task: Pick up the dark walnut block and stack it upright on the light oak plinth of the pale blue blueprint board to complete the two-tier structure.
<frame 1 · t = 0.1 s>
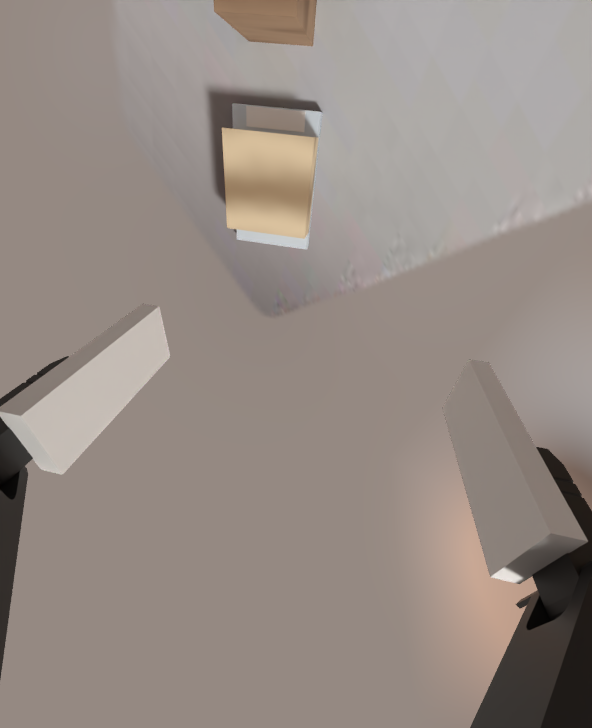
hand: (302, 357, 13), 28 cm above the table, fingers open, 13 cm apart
oak plinth: (273, 184, 33), resting on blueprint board
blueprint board: (275, 183, 34), on the table
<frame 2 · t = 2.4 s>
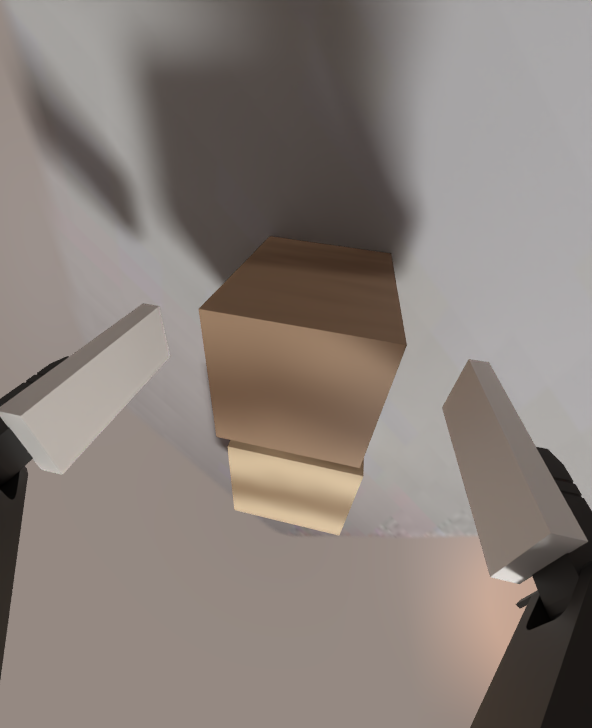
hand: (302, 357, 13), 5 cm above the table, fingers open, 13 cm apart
walnut block: (321, 300, 16), on the table
oak plinth: (297, 461, 24), resting on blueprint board
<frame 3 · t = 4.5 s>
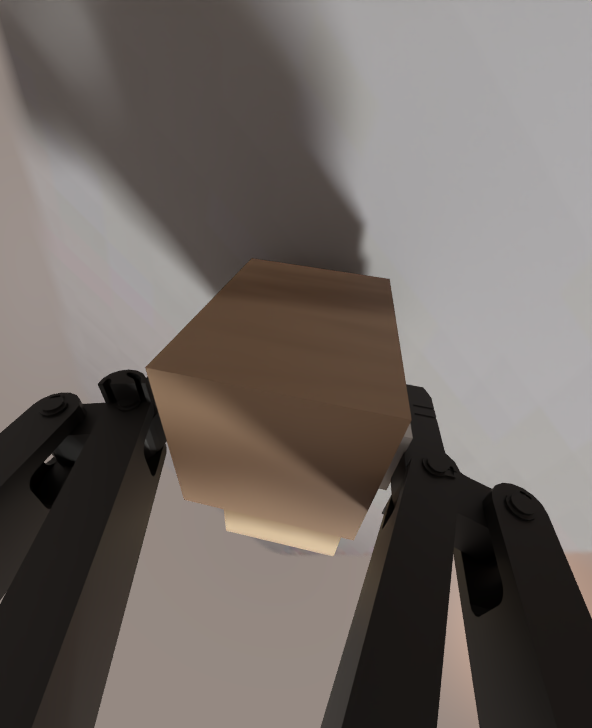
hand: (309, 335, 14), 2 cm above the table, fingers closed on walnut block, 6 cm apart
walnut block: (311, 328, 15), point 2 cm above the table, touching gripper
oak plinth: (290, 479, 24), resting on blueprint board
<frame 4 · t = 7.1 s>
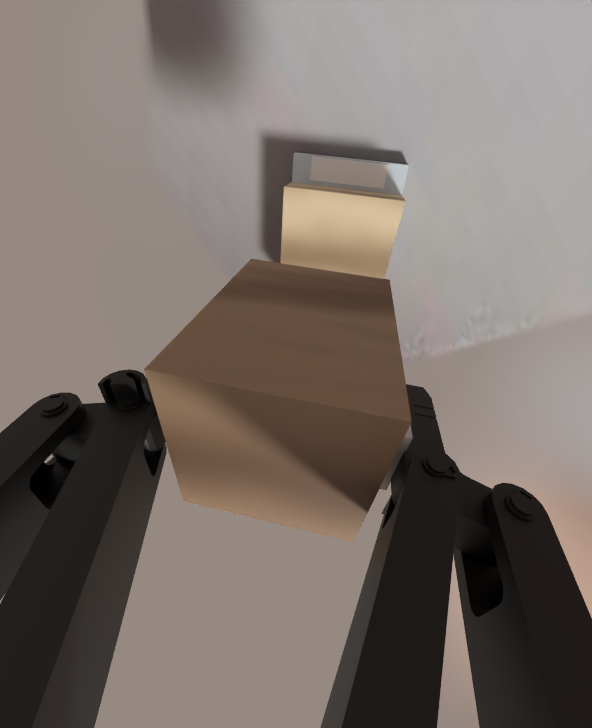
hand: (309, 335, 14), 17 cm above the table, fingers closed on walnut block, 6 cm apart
walnut block: (310, 328, 15), point 17 cm above the table, touching gripper
oak plinth: (336, 245, 27), resting on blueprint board
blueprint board: (337, 242, 28), on the table
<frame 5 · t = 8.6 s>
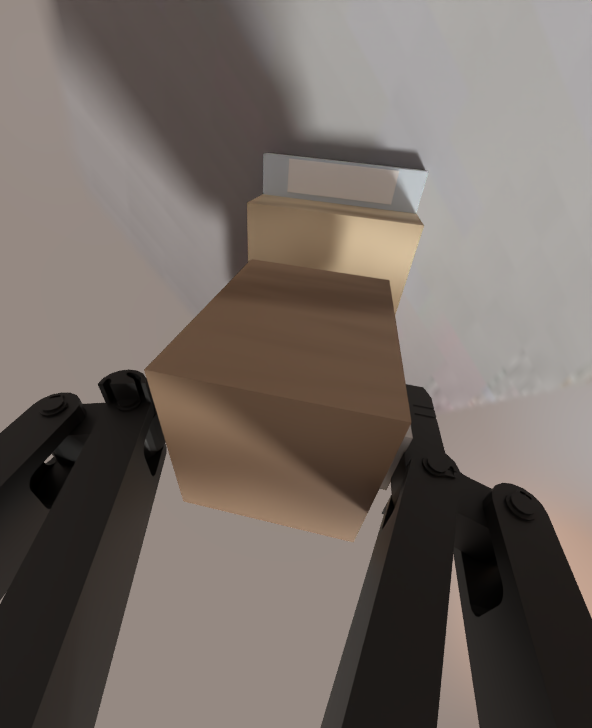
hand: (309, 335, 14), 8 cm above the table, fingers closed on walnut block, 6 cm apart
walnut block: (310, 329, 15), point 8 cm above the table, touching gripper
oak plinth: (326, 277, 20), resting on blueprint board
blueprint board: (327, 272, 21), on the table
when the fingers open (6 cm above the table, at t = 9.9 s): walnut block drops 1 cm, resting on oak plinth.
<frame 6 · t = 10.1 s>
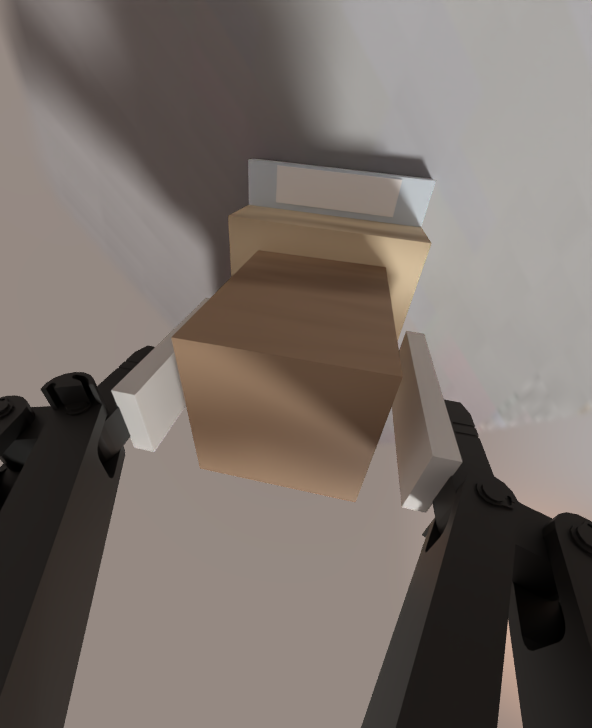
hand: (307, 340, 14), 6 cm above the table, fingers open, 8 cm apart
walnut block: (313, 315, 16), point 4 cm above the table, touching oak plinth
oak plinth: (320, 296, 18), resting on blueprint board
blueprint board: (322, 289, 19), on the table
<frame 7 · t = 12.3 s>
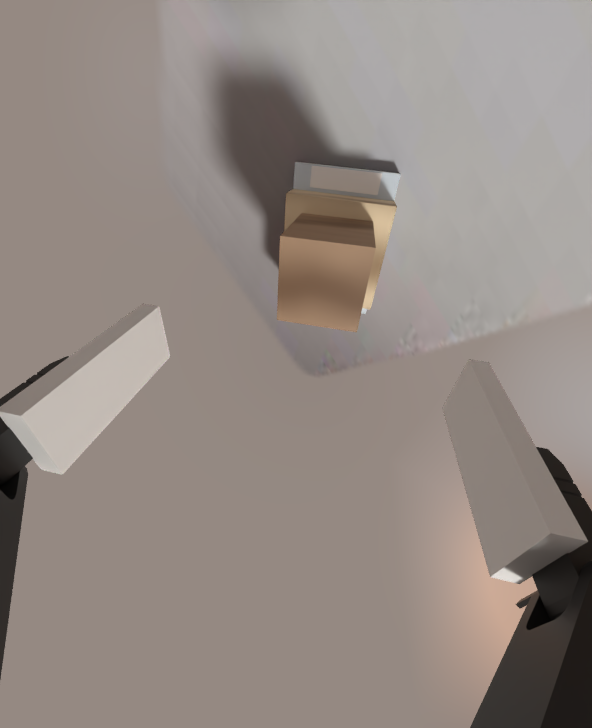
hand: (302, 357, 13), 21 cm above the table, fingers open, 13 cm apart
walnut block: (331, 253, 27), point 4 cm above the table, touching oak plinth
oak plinth: (334, 247, 29), resting on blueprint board
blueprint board: (335, 244, 30), on the table
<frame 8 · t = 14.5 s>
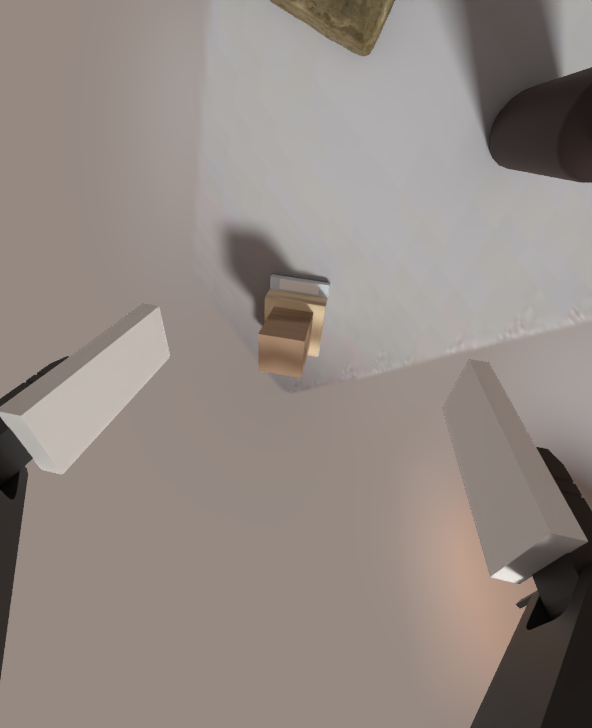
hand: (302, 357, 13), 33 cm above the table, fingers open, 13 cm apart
walnut block: (292, 327, 46), point 4 cm above the table, touching oak plinth
bottle: (524, 129, 31), on the table
oak plinth: (296, 319, 48), resting on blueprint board
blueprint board: (297, 316, 49), on the table
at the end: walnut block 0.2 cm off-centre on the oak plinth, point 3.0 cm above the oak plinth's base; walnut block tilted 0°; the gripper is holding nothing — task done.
